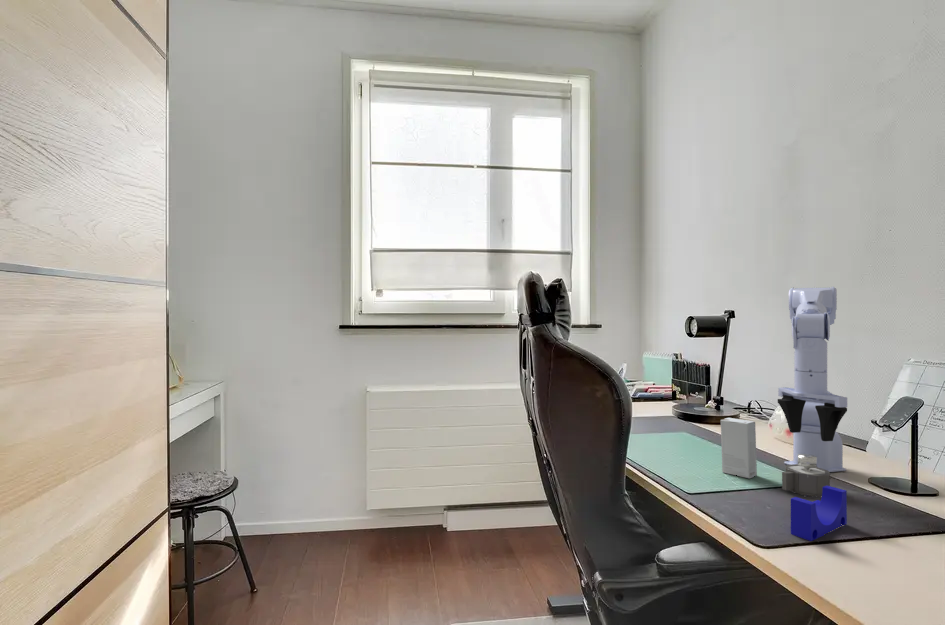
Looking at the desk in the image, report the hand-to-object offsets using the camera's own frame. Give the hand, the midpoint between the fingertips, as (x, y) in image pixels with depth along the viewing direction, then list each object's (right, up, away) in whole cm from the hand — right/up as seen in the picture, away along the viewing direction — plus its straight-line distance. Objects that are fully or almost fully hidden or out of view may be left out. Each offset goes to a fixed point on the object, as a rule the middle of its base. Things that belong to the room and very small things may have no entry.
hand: (810, 436), depth 104 cm
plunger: (-2, -9, -2) cm, 10 cm away
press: (-2, -10, -2) cm, 11 cm away
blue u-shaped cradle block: (-13, -11, -20) cm, 26 cm away
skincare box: (-11, -11, +8) cm, 17 cm away
